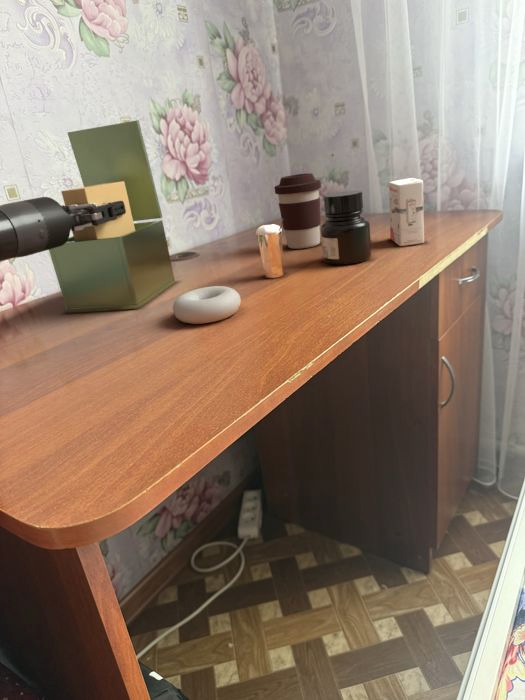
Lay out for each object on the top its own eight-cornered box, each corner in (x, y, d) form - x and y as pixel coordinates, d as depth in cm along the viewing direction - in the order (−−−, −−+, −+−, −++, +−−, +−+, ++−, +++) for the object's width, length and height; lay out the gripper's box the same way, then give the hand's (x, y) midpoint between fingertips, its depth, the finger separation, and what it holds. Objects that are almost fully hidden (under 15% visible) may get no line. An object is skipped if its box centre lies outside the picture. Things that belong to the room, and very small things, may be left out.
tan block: (100, 252, 81) (84, 188, 78) (77, 252, 84) (60, 191, 80) (137, 239, 88) (124, 181, 85) (115, 240, 91) (101, 183, 87)
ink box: (389, 239, 105) (387, 180, 101) (413, 236, 105) (411, 177, 101) (399, 246, 97) (397, 183, 93) (425, 243, 97) (424, 180, 93)
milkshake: (283, 279, 87) (276, 221, 83) (257, 279, 89) (249, 222, 86) (295, 272, 90) (289, 216, 86) (270, 272, 93) (263, 217, 89)
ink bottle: (323, 256, 99) (318, 194, 94) (368, 251, 97) (365, 187, 93) (323, 268, 90) (317, 200, 85) (373, 263, 88) (370, 193, 84)
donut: (217, 330, 67) (255, 305, 75) (212, 306, 66) (251, 283, 73) (161, 326, 72) (202, 302, 80) (156, 303, 71) (198, 282, 79)
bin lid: (136, 120, 83) (138, 120, 84) (67, 132, 87) (69, 132, 88) (161, 218, 91) (162, 217, 91) (95, 225, 94) (97, 224, 95)
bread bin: (138, 308, 82) (121, 237, 77) (67, 313, 86) (47, 244, 81) (175, 282, 96) (162, 220, 91) (112, 287, 99) (97, 227, 95)
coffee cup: (335, 241, 111) (329, 170, 105) (305, 252, 105) (297, 177, 99) (302, 239, 118) (295, 173, 112) (272, 249, 112) (263, 180, 106)
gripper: (53, 197, 68) (136, 181, 81) (-11, 204, 75) (76, 188, 88) (68, 252, 71) (147, 228, 84) (5, 253, 78) (87, 231, 91)
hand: (110, 208), depth 86 cm, fingers closed on tan block, 5 cm apart
